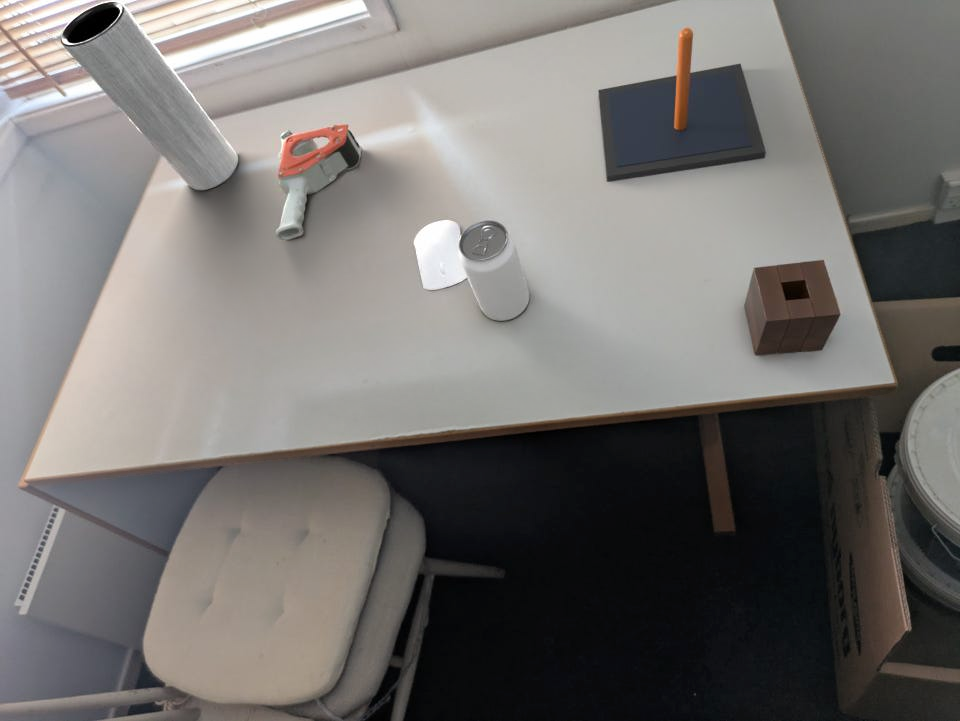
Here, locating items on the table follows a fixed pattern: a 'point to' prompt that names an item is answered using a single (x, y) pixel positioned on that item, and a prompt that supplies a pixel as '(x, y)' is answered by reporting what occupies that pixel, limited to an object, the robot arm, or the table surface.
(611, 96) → the tablet
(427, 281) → the computer mouse
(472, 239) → the can
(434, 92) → the table surface
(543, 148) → the table surface
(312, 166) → the tape dispenser
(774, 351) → the pen holder
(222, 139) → the vase
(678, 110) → the stylus
